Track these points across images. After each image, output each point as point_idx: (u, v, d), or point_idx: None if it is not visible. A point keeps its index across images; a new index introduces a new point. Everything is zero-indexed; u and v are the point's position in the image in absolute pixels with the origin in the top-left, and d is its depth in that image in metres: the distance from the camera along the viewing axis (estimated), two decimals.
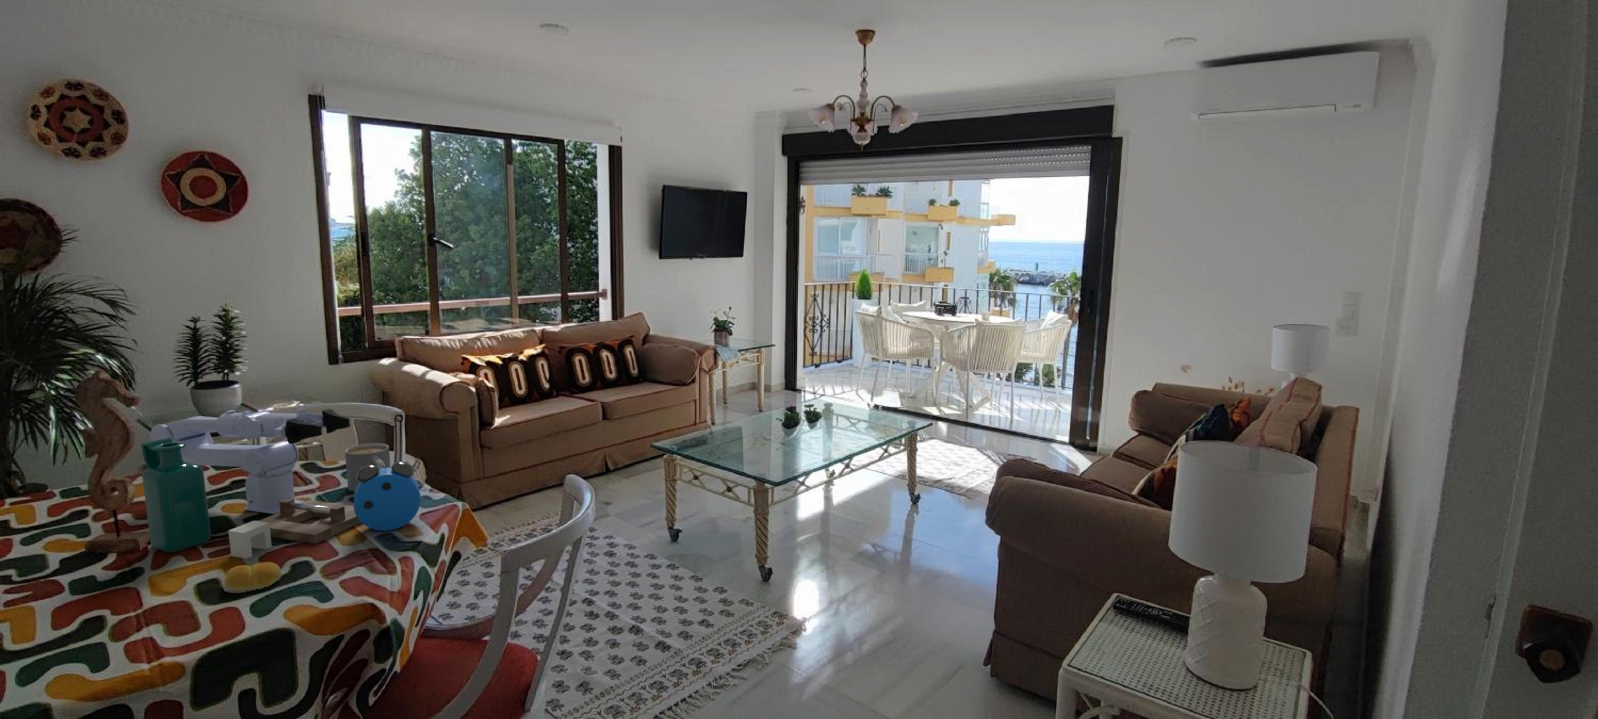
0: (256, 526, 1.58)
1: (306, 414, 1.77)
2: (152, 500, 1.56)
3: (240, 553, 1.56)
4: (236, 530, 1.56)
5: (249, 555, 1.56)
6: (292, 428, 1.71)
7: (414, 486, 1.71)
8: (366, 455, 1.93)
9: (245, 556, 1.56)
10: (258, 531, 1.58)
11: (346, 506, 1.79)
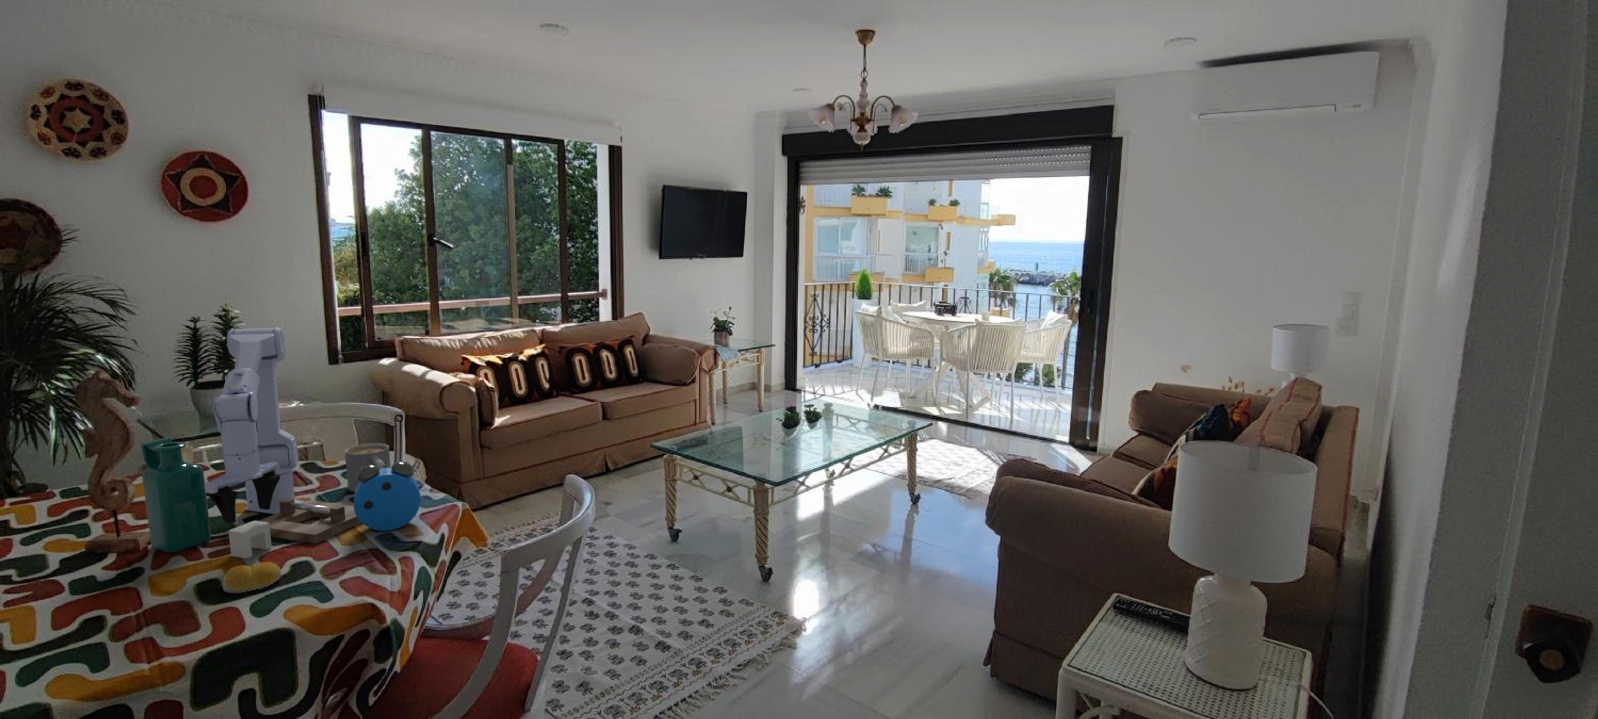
0: (256, 526, 1.58)
1: None
2: (152, 500, 1.56)
3: (240, 553, 1.56)
4: (236, 530, 1.56)
5: (249, 555, 1.56)
6: None
7: (414, 486, 1.71)
8: (366, 455, 1.93)
9: (245, 556, 1.56)
10: (258, 531, 1.58)
11: (346, 506, 1.79)
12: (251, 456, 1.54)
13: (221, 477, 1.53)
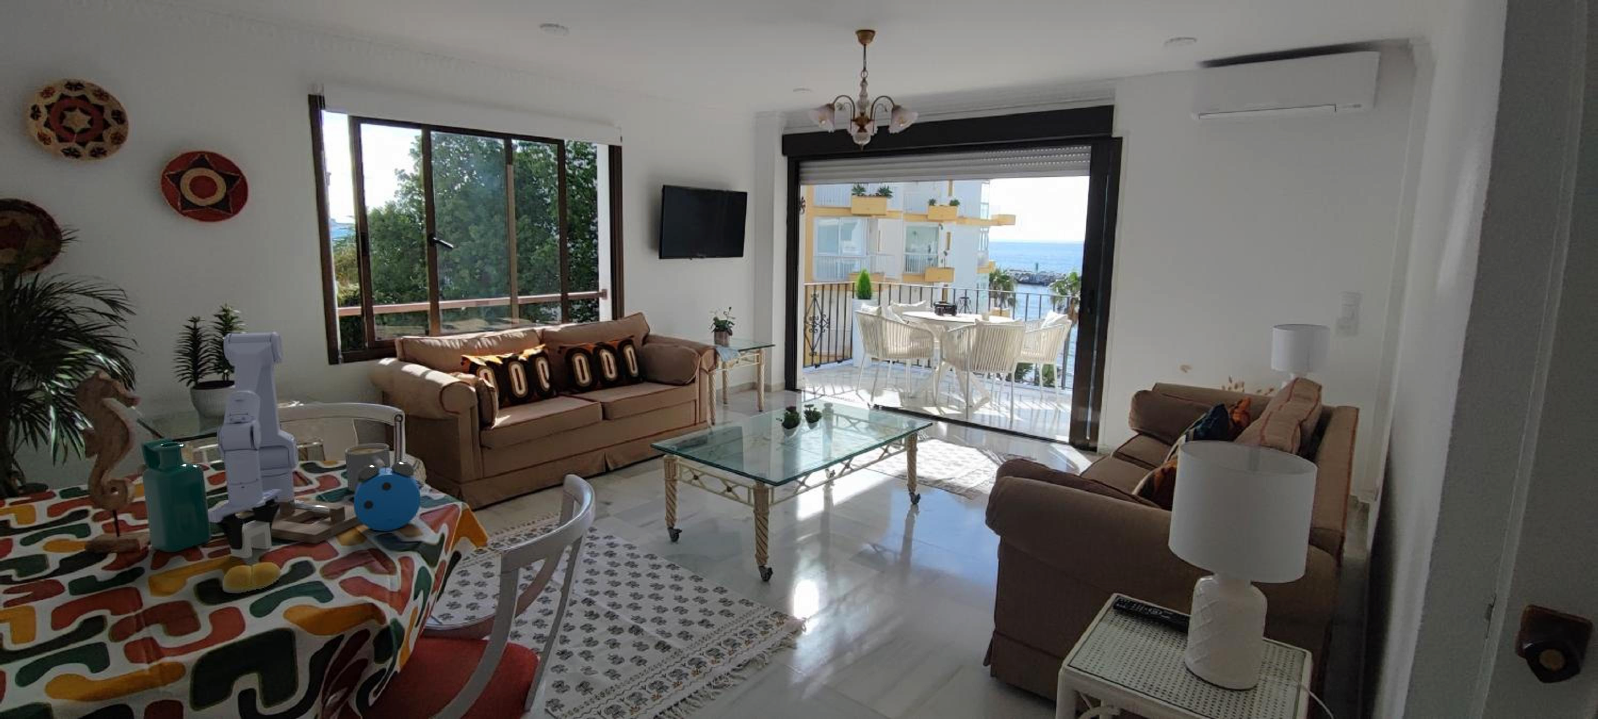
0: (256, 526, 1.58)
1: None
2: (152, 500, 1.56)
3: (240, 553, 1.56)
4: None
5: (249, 555, 1.56)
6: None
7: (414, 486, 1.71)
8: (366, 455, 1.93)
9: (245, 556, 1.56)
10: (258, 531, 1.58)
11: (346, 506, 1.79)
12: (254, 484, 1.55)
13: (224, 505, 1.54)
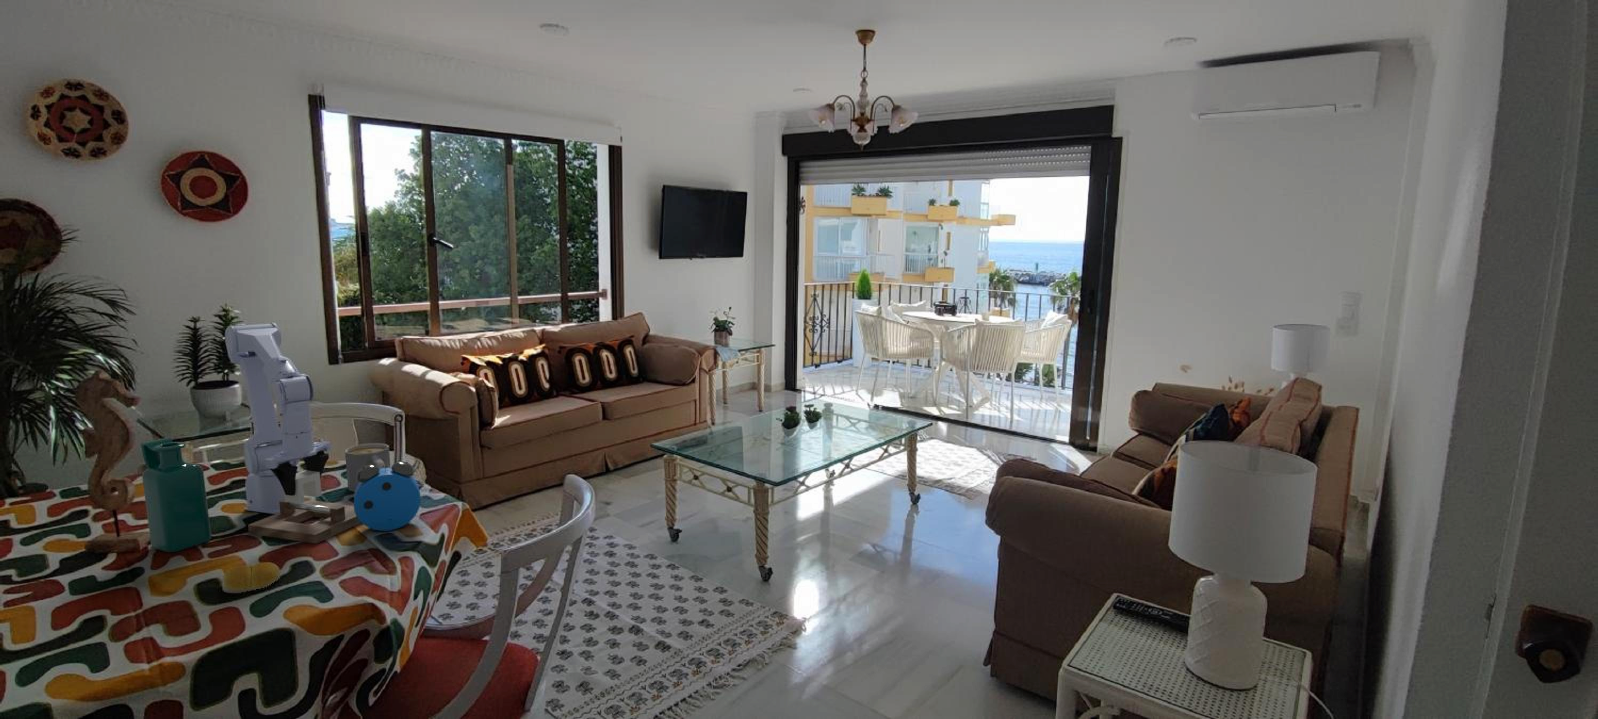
0: (307, 475, 1.69)
1: None
2: (152, 500, 1.56)
3: (293, 499, 1.67)
4: None
5: (302, 501, 1.68)
6: None
7: (414, 486, 1.71)
8: (366, 455, 1.93)
9: (298, 502, 1.67)
10: (310, 479, 1.69)
11: (346, 506, 1.79)
12: (307, 435, 1.67)
13: (279, 454, 1.66)
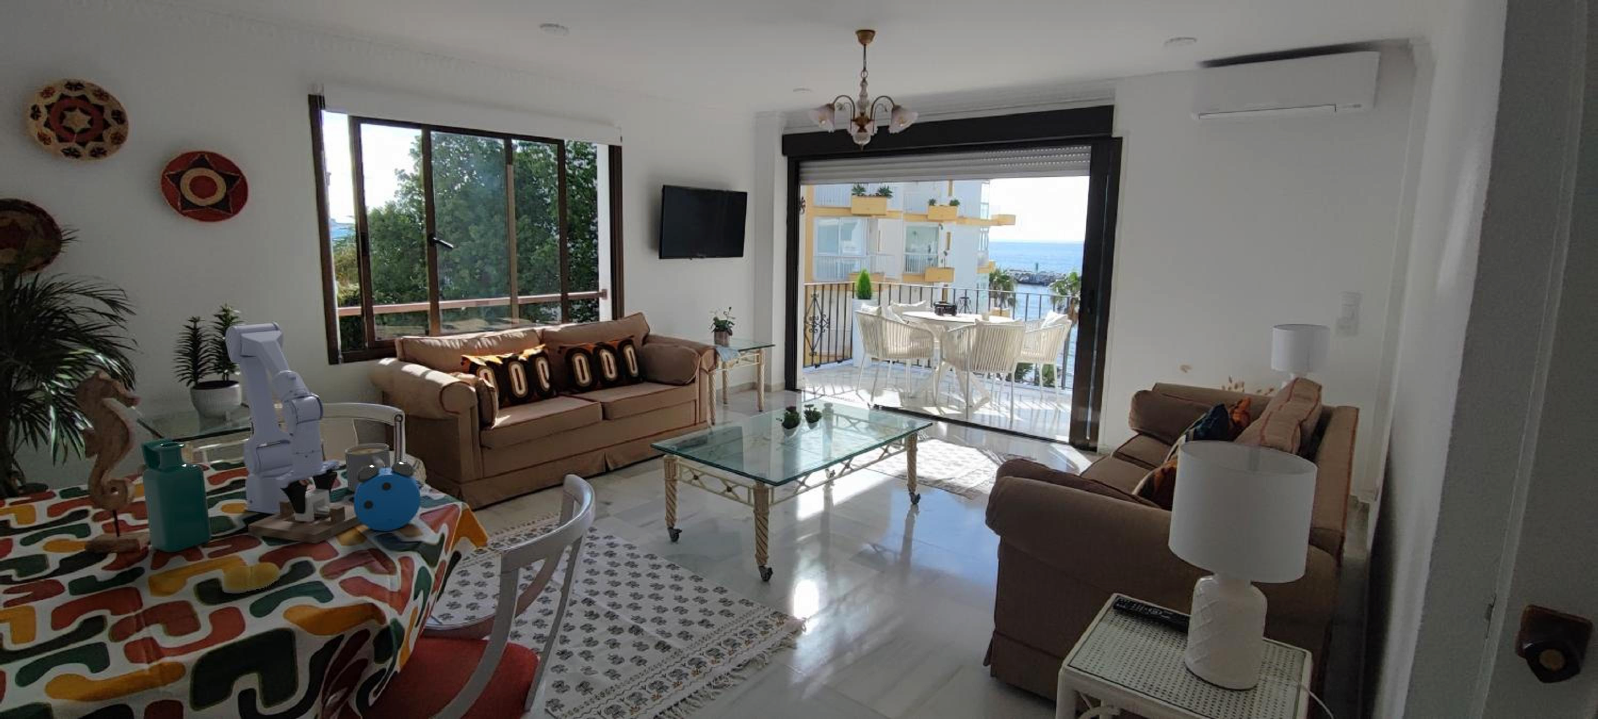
0: (317, 493, 1.72)
1: None
2: (152, 500, 1.56)
3: (303, 517, 1.70)
4: None
5: (311, 519, 1.70)
6: None
7: (414, 486, 1.71)
8: (366, 455, 1.93)
9: (308, 520, 1.70)
10: (319, 497, 1.72)
11: (346, 506, 1.79)
12: (316, 454, 1.69)
13: (289, 473, 1.68)
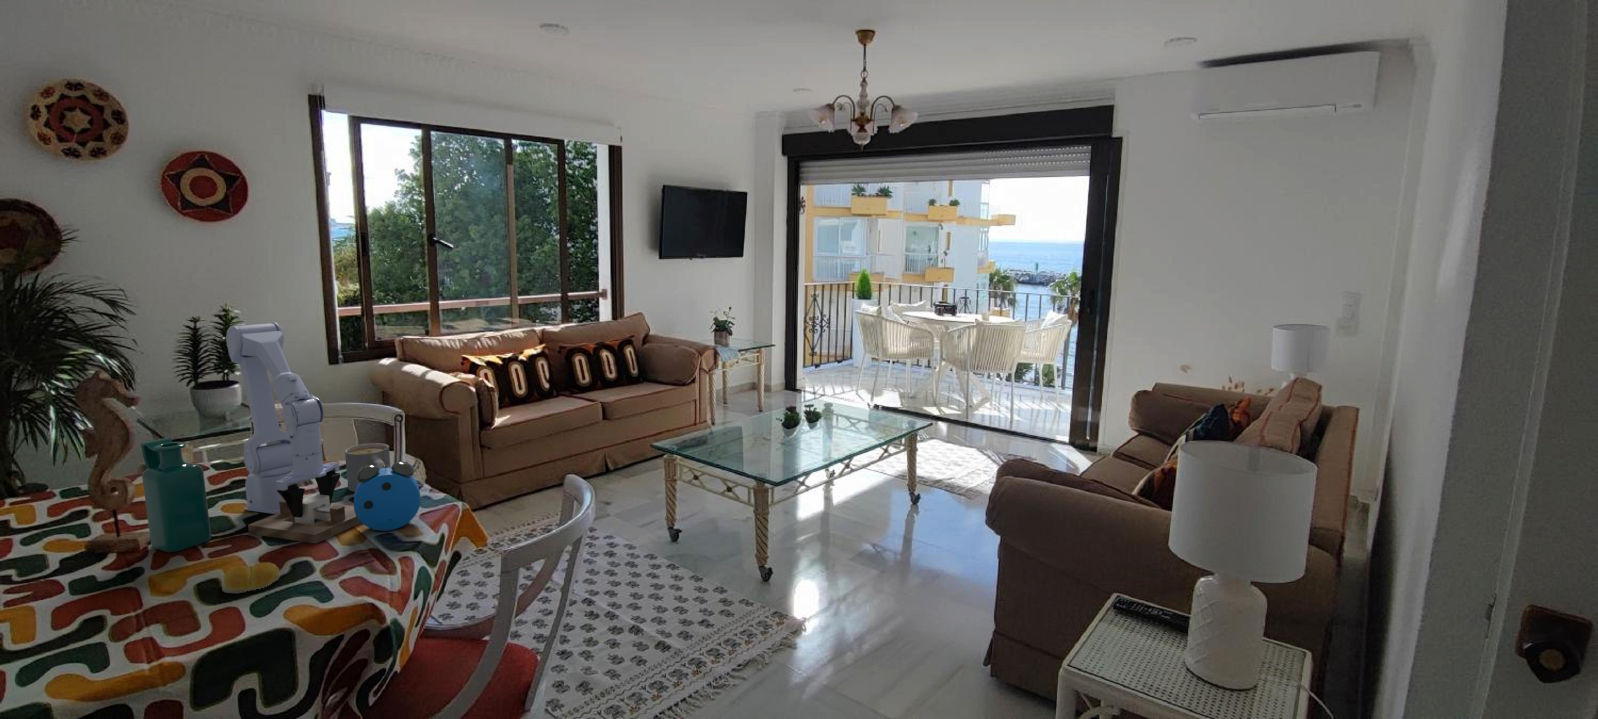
0: (317, 499, 1.72)
1: None
2: (152, 500, 1.56)
3: (304, 523, 1.70)
4: None
5: None
6: None
7: (414, 486, 1.71)
8: (366, 455, 1.93)
9: None
10: (320, 503, 1.72)
11: (346, 506, 1.79)
12: (316, 456, 1.70)
13: (289, 475, 1.69)
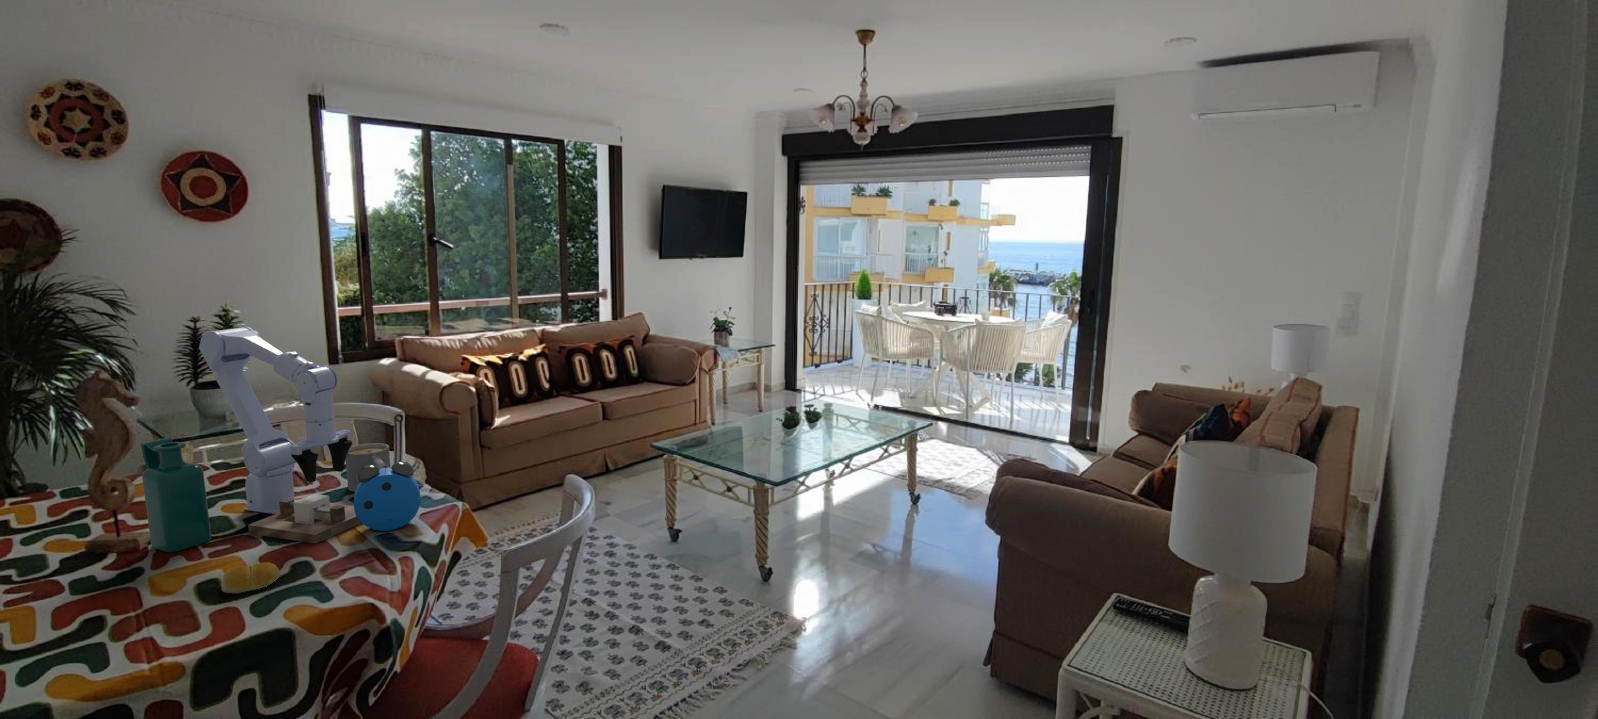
0: (317, 499, 1.72)
1: None
2: (152, 500, 1.56)
3: (304, 523, 1.70)
4: (300, 502, 1.70)
5: None
6: None
7: (414, 486, 1.71)
8: (366, 455, 1.93)
9: None
10: (320, 503, 1.72)
11: (346, 506, 1.79)
12: (329, 423, 1.75)
13: (303, 441, 1.74)
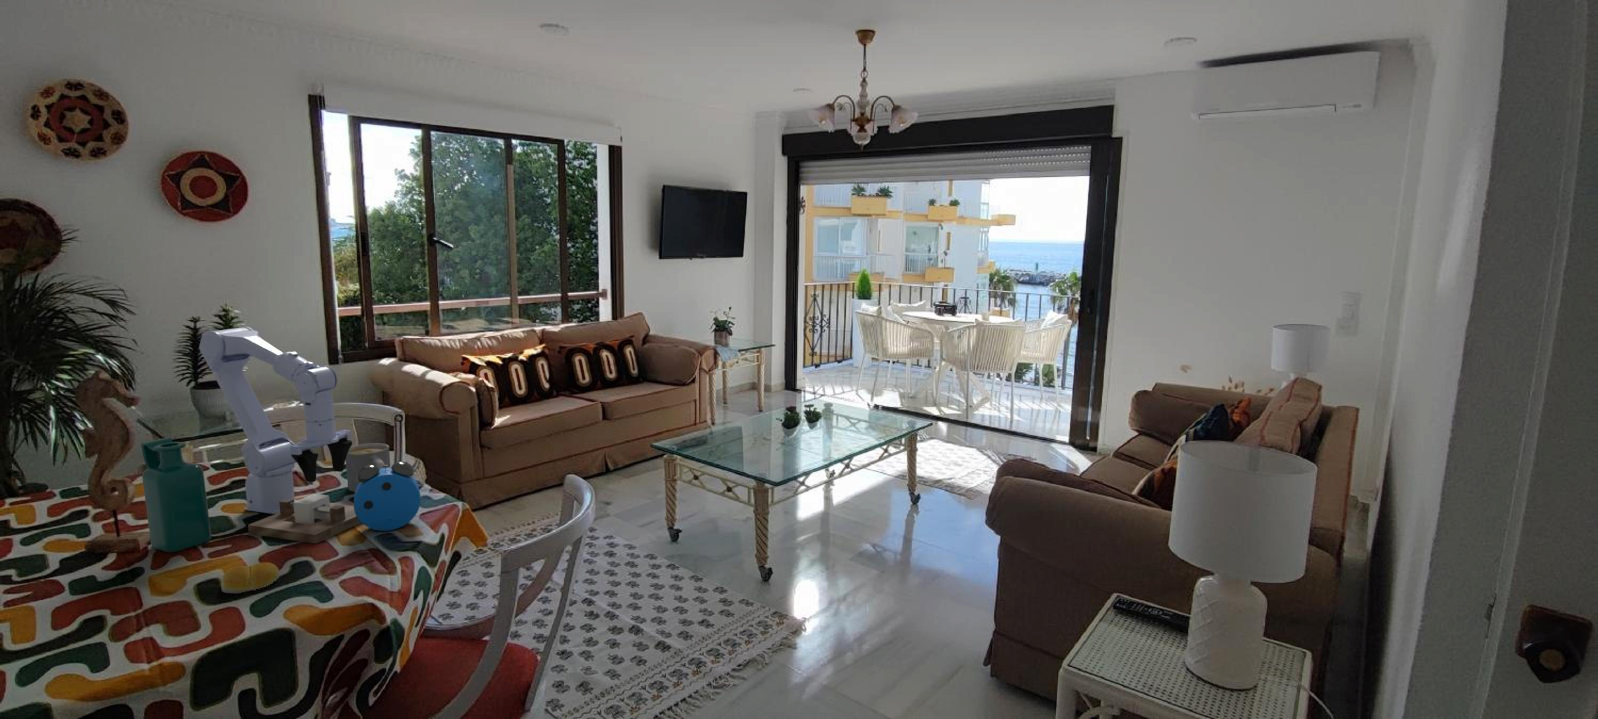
0: (317, 499, 1.72)
1: None
2: (152, 500, 1.56)
3: (304, 523, 1.70)
4: (300, 502, 1.70)
5: None
6: None
7: (414, 486, 1.71)
8: (366, 455, 1.93)
9: None
10: (320, 503, 1.72)
11: (346, 506, 1.79)
12: (329, 423, 1.75)
13: (303, 441, 1.74)
